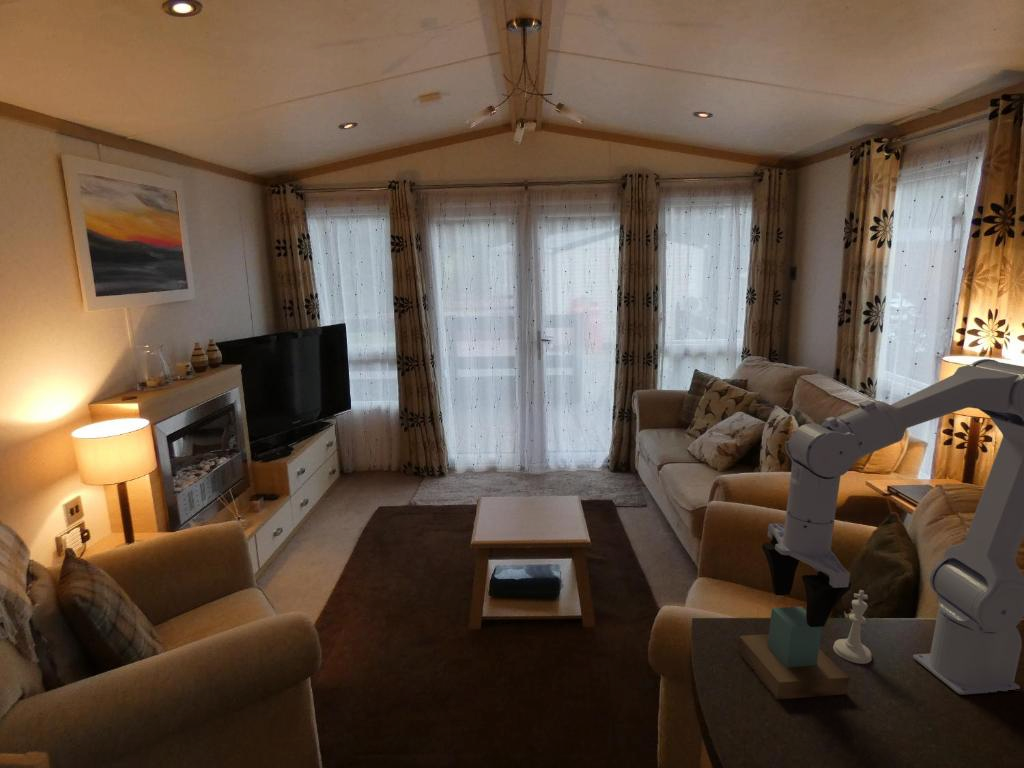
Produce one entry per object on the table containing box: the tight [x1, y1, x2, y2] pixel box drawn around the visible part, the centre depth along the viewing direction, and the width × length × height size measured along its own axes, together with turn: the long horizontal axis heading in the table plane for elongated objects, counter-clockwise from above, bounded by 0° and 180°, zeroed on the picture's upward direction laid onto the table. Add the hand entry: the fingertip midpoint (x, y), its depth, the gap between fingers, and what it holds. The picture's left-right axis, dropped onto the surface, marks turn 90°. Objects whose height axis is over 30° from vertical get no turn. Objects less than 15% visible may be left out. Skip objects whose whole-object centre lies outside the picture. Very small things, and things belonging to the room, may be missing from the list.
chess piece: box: [833, 589, 872, 665], centre depth 86 cm, size 5×5×10 cm
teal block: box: [767, 605, 823, 668], centre depth 81 cm, size 4×4×6 cm
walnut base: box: [737, 633, 850, 700], centre depth 82 cm, size 10×10×2 cm
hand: (797, 608), depth 81 cm, fingers open, 7 cm apart
